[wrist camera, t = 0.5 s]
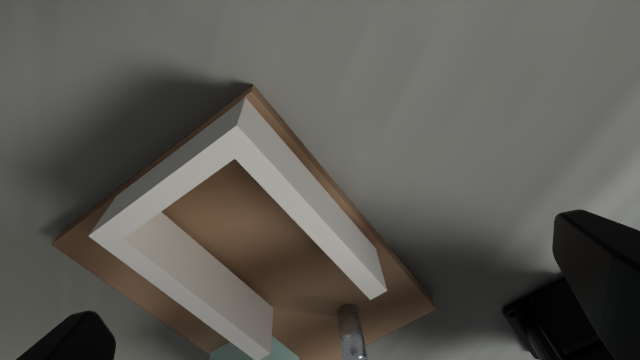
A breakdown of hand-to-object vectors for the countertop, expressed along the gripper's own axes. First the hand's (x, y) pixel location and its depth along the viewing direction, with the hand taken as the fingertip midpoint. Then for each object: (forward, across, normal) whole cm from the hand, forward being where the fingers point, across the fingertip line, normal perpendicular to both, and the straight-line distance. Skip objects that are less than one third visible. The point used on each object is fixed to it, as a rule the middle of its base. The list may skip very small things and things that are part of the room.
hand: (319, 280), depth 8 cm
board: (+13, +5, +10) cm, 18 cm away
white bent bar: (+12, +5, +6) cm, 14 cm away
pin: (+13, +1, +14) cm, 20 cm away
